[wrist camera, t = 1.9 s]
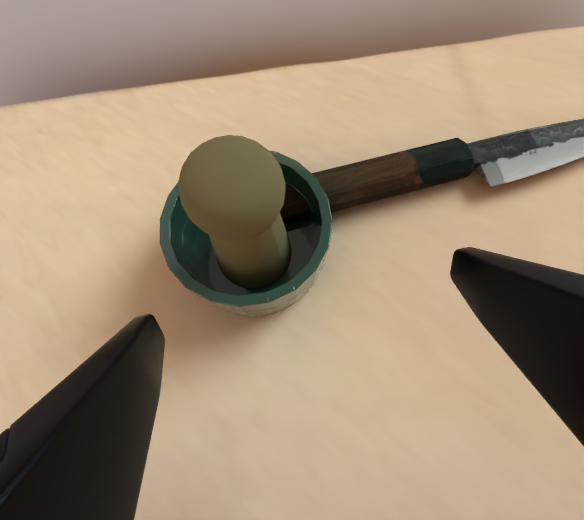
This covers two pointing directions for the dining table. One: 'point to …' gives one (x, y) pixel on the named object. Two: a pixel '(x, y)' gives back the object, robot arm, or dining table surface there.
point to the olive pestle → (238, 208)
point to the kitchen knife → (444, 166)
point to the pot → (204, 268)
